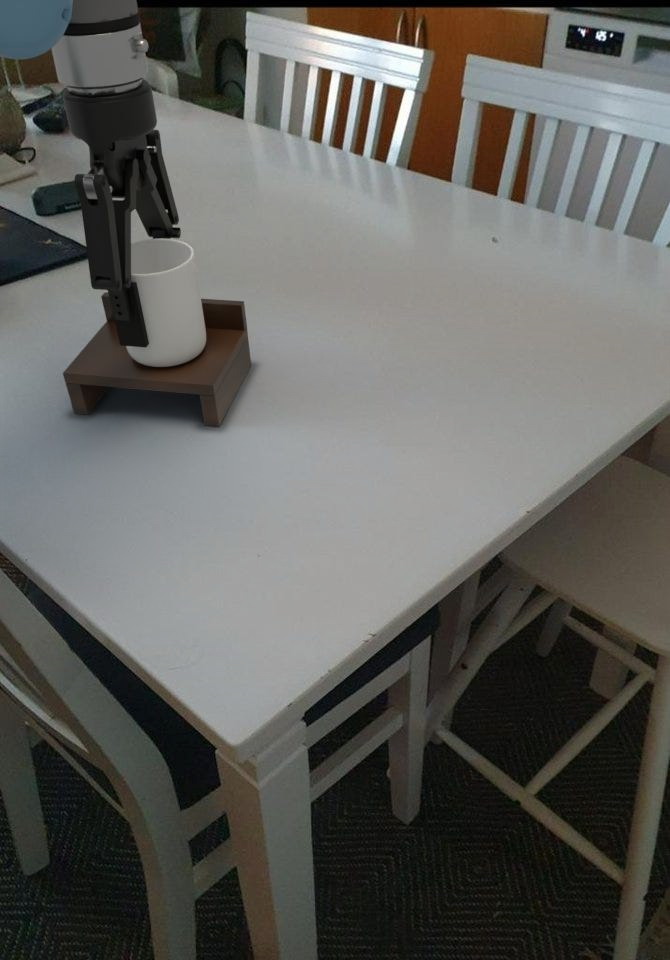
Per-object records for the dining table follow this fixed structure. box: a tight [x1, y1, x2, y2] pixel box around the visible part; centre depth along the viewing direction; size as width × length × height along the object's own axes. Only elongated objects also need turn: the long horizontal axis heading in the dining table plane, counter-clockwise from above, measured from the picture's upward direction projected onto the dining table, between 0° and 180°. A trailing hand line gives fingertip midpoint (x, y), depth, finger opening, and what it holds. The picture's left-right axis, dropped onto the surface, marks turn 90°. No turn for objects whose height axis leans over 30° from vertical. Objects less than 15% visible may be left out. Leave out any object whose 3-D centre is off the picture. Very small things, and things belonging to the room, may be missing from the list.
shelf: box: [62, 292, 252, 428], centre depth 86 cm, size 16×12×8 cm
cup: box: [126, 238, 206, 367], centre depth 82 cm, size 8×12×10 cm
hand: (152, 321), depth 83 cm, fingers closed on cup, 9 cm apart
